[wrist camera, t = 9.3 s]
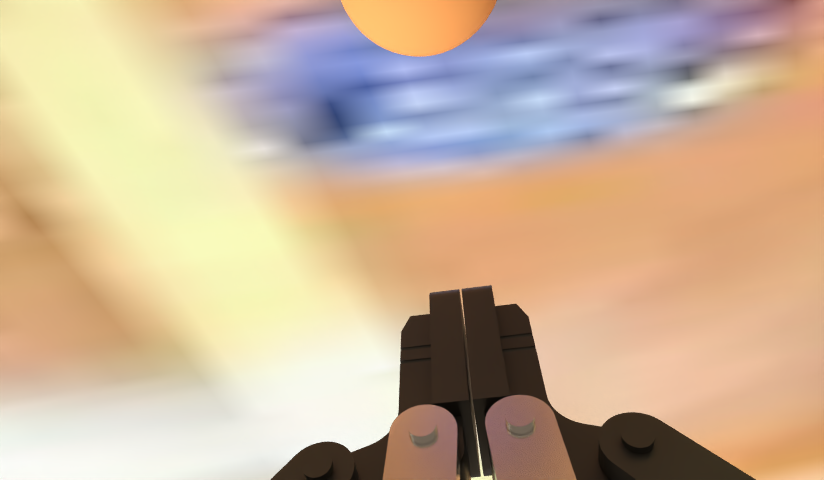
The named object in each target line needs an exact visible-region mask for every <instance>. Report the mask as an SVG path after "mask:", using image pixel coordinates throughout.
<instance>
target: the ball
mask: <svg viewBox="0 0 824 480" xmlns="http://www.w3.org/2000/svg"><path fill="white" fill-rule="evenodd" d="M496 1H497V0H341V2H342V4H343V6H344V9H345V10H346V12H347V14H348V15H349V17H350V19H351V20H352V21H353V23H354V24H355V25H356V27H357V28H358V29H359V30H360V31H361V32H362V33H363V34H364V35H365V36H366V37H367V38H369V39H370V40H371V41H373V42H374V43H376V44H377V45H379V46H381V47H383V48H385V49H387V50H389V51H392V52H395V53H398V54H402V55H407V56H431V55H436V54H440V53H443V52H446V51H449V50H451V49H453V48H455V47H457V46H459V45H460V44H462V43H463V42H465V41H466V40H468V39H469V38H470V37H471V36H472V35H474V34H475V33H476V32H477V31H478V30H479V29H480V27H481V26H482V25H483V24H484V22H485V21H486V20H487V18H488V16H489V15H490V13H491V11H492V10H493V8H494V6H495V4H496Z"/></svg>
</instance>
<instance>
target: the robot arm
mask: <svg viewBox="0 0 824 480" xmlns="http://www.w3.org/2000/svg"><path fill="white" fill-rule="evenodd" d="M429 297H430V314H426V315H418V316H410V318H409V320H408V321H407V323H406V325H405V326H404V328H403V330H402V331H401V358H400V362H401V364H400V387H399V413H398V417H397V418H396V419H395V420H394V422H393V423H392V425H391V427H390V432H389V433H388V434H387V435H386V436H384V437H383V438H382V439H380V440H379V441H377V442H376V443H373V444H371V445H369V446H366V447H364V448H361V449H359V450H356V451H354V452H350V451H349V450H348V449H347V448H346V447H345V446H343V445H341V444H339V443H335V442H320V443H316V444H313V445H310V446H308V447H306V448H304V449H303V450H301V451H300V452H299V453H298V454H296V455H295V456H294V457H293V458H292V459H291V460H290V461H289V462H288V463H287V464H286V465H285V466H284V467H283V468H282V469H281V470H280V471H279V472H278V473H277V474H276V475H275V476H274V477H273V478H272V479H271V480H471V477H481V474H480V464H479V454H478V444H477V434H476V427H477V433H478V440H479V447H480V454H481V460H482V467H483V474H484V476H489V475H492V478H493V480H756V479H754V478H752V477H751V476H749V475H748V474H746V473H744V472H743V471H741V470H739V469H738V468H736V467H735V466H733V465H731V464H730V463H728V462H727V461H725V460H723V459H722V458H720V457H718V456H717V455H715V454H714V453H712V452H710V451H709V450H707V449H706V448H704V447H702V446H701V445H699V444H697V443H696V442H694V441H693V440H691V439H689V438H688V437H686V436H685V435H683V434H681V433H680V432H678V431H677V430H675V429H673V428H672V427H670V426H668V425H667V424H665V423H664V422H662V421H660V420H659V419H657V418H655V417H652V416H650V415H647V414H642V413H635V412H631V413H622V414H618V415H615V416H613V417H611V418H610V419H608V420H607V421H606V422H605V423H604V424H603V426H602V427H600V426H594V425H588V424H582V423H578V422H575V421H572V420H569V419H567V418H565V417H564V416H562V415H561V414H559V413H558V412H557V411H556V410H555V409H554V408H553V407H552V406H551V404H550V402H549V401H548V398H547V395H546V390H545V386H544V382H543V378H542V373H541V369H540V365H539V360H538V356H537V352H536V349H535V343H534V339H533V336H532V330H531V326H530V322H529V317H528V316H527V315H526V314H525V313H524V312H523V310H522V309H521V308H520V307H519V306H518V305H517V304H510V305H502V306H495V304H494V298H493V292H492V286H491V285H490V286H482V287H473V288H465V289H462V298H463V308H464V318H465V325H464V318H463V311H462V304H461V297H460V291H459V289H458V290H450V291H441V292H433V293H430V295H429ZM465 328H466V332H465ZM466 338H467V339H466ZM474 413H475V414H474ZM475 420H476V424H475Z"/></svg>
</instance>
